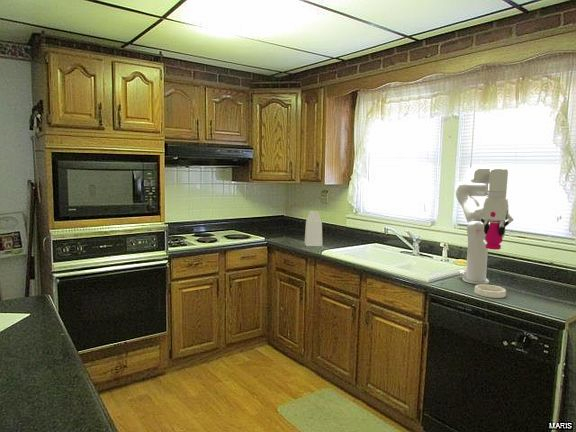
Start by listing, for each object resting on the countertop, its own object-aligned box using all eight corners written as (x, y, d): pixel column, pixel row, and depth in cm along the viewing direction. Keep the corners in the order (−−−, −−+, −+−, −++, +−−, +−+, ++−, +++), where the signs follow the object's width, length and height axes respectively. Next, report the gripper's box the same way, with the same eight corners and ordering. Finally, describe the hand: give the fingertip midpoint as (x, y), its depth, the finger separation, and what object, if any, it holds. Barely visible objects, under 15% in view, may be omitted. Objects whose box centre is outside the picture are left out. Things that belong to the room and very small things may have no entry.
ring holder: (469, 292, 193) (469, 287, 193) (481, 287, 202) (482, 282, 202) (498, 299, 183) (498, 294, 183) (510, 294, 192) (510, 288, 192)
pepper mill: (490, 246, 195) (494, 204, 193) (505, 249, 189) (508, 205, 186) (480, 247, 192) (483, 204, 189) (495, 250, 185) (498, 206, 183)
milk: (320, 244, 310) (321, 210, 306) (322, 247, 298) (323, 212, 295) (304, 244, 309) (304, 210, 306) (305, 247, 297) (306, 212, 294)
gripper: (474, 194, 191) (471, 232, 193) (513, 196, 178) (510, 237, 181) (481, 194, 196) (478, 231, 198) (520, 196, 183) (517, 236, 185)
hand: (494, 234), depth 189 cm, fingers closed on pepper mill, 5 cm apart
